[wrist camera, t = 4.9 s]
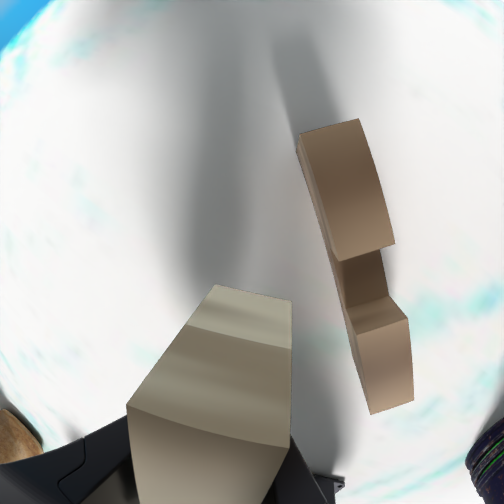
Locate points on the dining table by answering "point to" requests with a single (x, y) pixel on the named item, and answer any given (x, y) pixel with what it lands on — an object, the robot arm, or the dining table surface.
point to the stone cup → (16, 439)
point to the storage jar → (488, 464)
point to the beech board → (216, 404)
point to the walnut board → (359, 257)
